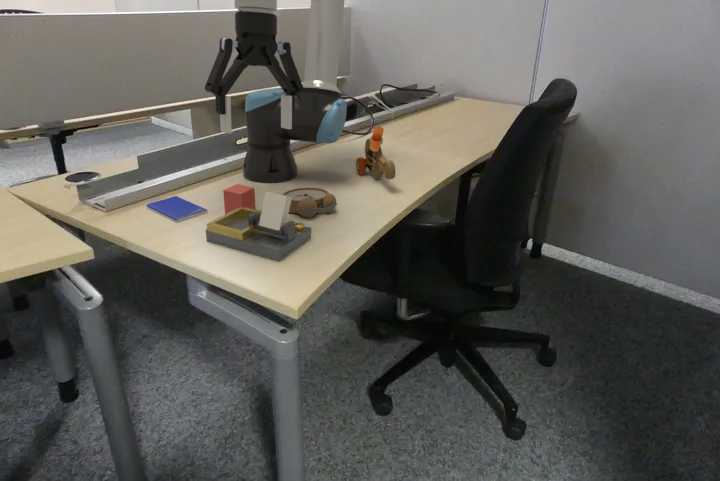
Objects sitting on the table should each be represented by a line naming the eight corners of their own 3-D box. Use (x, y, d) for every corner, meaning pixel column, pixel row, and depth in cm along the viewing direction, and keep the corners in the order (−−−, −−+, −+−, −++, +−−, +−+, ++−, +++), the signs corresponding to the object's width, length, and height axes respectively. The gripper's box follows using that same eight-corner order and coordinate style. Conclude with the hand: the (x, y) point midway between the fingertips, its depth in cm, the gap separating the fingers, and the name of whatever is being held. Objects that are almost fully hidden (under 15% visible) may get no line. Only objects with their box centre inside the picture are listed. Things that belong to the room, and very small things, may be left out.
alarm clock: (312, 184, 133) (346, 192, 121) (314, 203, 134) (348, 212, 122) (273, 192, 126) (305, 201, 115) (275, 212, 128) (307, 223, 116)
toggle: (261, 230, 107) (269, 192, 107) (285, 236, 105) (294, 197, 104) (255, 229, 105) (264, 190, 105) (280, 236, 103) (288, 196, 102)
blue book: (207, 208, 121) (176, 195, 128) (176, 218, 115) (146, 204, 122) (208, 215, 121) (177, 201, 128) (177, 225, 116) (147, 210, 122)
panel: (243, 220, 117) (241, 195, 115) (311, 238, 110) (310, 212, 108) (206, 240, 108) (203, 213, 105) (278, 261, 101) (277, 233, 98)
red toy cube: (239, 207, 125) (237, 183, 122) (255, 211, 123) (254, 187, 120) (225, 214, 121) (223, 190, 118) (242, 218, 119) (240, 194, 116)
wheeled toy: (380, 168, 155) (382, 122, 149) (406, 192, 137) (410, 141, 131) (354, 170, 153) (355, 123, 147) (376, 195, 135) (379, 143, 129)
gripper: (201, 4, 83) (207, 137, 91) (322, 17, 100) (319, 129, 107) (180, 5, 88) (188, 131, 96) (299, 17, 105) (297, 124, 112)
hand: (257, 130), depth 101 cm, fingers open, 13 cm apart
